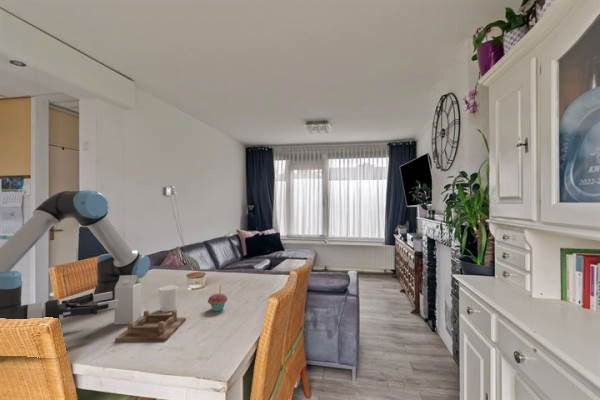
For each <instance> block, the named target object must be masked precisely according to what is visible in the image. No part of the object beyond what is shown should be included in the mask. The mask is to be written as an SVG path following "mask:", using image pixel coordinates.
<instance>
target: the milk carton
mask: <svg viewBox="0 0 600 400" xmlns="http://www.w3.org/2000/svg"><path fill="white" fill-rule="evenodd" d="M115 300H118V307H116V308H114V325H127V323H128V322H134V323H135V322H136V321H138V320H139V319H140V318H142V281H141V280H140V278H137V275H127V276H119V280H118V282H117V284H116V286H115Z"/></svg>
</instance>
